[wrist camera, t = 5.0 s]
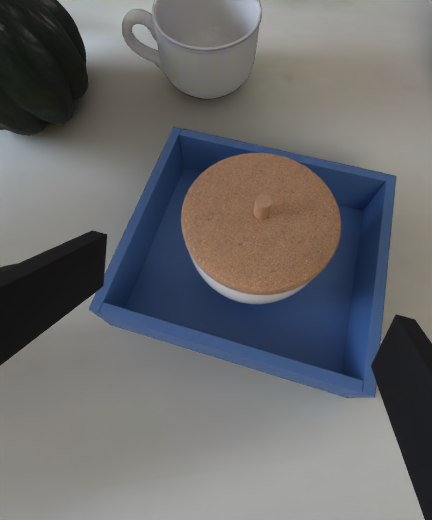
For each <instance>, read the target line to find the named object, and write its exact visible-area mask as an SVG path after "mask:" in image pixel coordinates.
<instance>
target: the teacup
mask: <svg viewBox="0 0 432 520" xmlns="http://www.w3.org/2000/svg"><path fill="white" fill-rule="evenodd" d="M261 18H262V8H261V4H260V1H259V0H155V1H154V4H153V6H152V14H151V13H149V12H147V11H145V10H143V9H133V10H131V11H129V12H128V13H127V14H126V15H125V17H124V19H123V22H122V33H123V37H124V39H125V42H126V43H127V45H128V46H129V47H130V48H131V49H132V50H133V51H134V52H135V53H137V54H138V55H140V56H141V57H143V58H145V59H147V60H149V61H152V62H154V63H155V64H156V65H157V66H158V67H159V68H161V69H164V71H165V73H166V75H167V77H168V78H169V80H170V81H171V83H172V84H173V85H174V86H175V87H177V88H178V89H179V90H180V91H182V92H184V93H186V94H188V95H191V96H194V97H198V98H203V99H213V98H218V97H221V96H225V95H227V94H230V93H232V92H233V91H235V90H236V89H238V88H239V87H240V86H241V85H242V84H243V83H244V82H245V80H246V79H247V78H248V76H249V74H250V72H251V69H252V66H253V62H254V58H255V53H256V46H257V39H258V31H259V25H260V22H261ZM135 24H142V25H145V26H146V27H147V28H148V29H149V30H150V32H151V34H152V36H153V38H154V39H155V40H156V41H157V43H158V49H159V51H158V50H155V49H152V48H150V47H148V46H146V45H144V44H143V43H141V42H140V41H139V40H138V39H137V38H136V37H135V36H134V34H133V33H132V27H133V25H135Z"/></svg>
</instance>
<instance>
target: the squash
mask: <svg viewBox="0 0 432 520" xmlns="http://www.w3.org/2000/svg"><path fill="white" fill-rule="evenodd" d="M87 88H88V75H87V69H86V52H85V47H84V43H83V40H82V38H81V36H80V33H79V31H78V28H77V26H76V24H75V22H74V20H73V19H72V17H71V16H70V14H69V13H68V12H67V11H66V10H65V8H64V7H63V6H62V5H61V4H60V3H59V2H58V1H57V0H0V130H4V129H6V130H9V131H11V132H14V133H17V134H21V135H28V136H30V135H35V134H37V133H39V132H40V131H41V130H42V129H43V127H44V126H45V123H46V121H47V122H49V123H53V124H56V125H61V124H64V123H66V122H68V121H69V120H70V118H71V115H72V111H73V101H75V100H77V99H79V98H81V97H82V96H83V95H84V94H85V92H86V90H87Z"/></svg>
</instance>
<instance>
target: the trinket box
mask: <svg viewBox="0 0 432 520" xmlns="http://www.w3.org/2000/svg"><path fill="white" fill-rule="evenodd" d="M181 226H182V233H183V237H184V240H185V244H186V247H187V249H188V251H189V253H190V257H191V259H192V261H193V263H194V265H195V267H196V269H197V271H198V272H199V274H200V275H201V276H202V278H203V279H204V280H205V281H206V282H207V283H208V284H209V285H210V286H211V287H212V288H213V289H214V290H216V291H217V292H218V293H220V294H221V295H223V296H225V297H227V298H229V299H231V300H234V301H237V302H240V303H246V304H267V303H273V302H276V301H279V300H283V299H285V298H287V297H289V296H291V295H293V294H295V293H296V292H298V291H299V290H301V289H302V288H303V287H305V286H306V285H307V284H308V283H309V282H310V281H311V280H312V279H313V278H315V277H316V276H317V275H318V274H319V273H320V272H321V271H322V270H323V269H324V268H325V267H326V265H327V264H328V263H329V261H330V260H331V258H332V257H333V255H334V253H335V251H336V249H337V246H338V244H339V239H340V235H341V217H340V211H339V208H338V205H337V202H336V200H335V198H334V196H333V194H332V192H331V191H330V189H329V188H328V187H327V185H326V184H325V183H324V181H323V180H322V179H321V178H320V177H318V176H317V175H316V174H315V173H314V172H313V171H311V170H310V169H309V168H307V167H306V166H304V165H302V164H300V163H298V162H296V161H294V160H292V159H289V158H287V157H283V156H279V155H275V154H268V153H247V154H240V155H236V156H232V157H229V158H226V159H224V160H221V161H219V162H217V163H216V164H214V165H212V166H210V167H209V168H208V169H207V170H205V171H204V172H203V173H202V174H201V175H200V176H199V177H198V178H197V179H196V180H195V181H194V182H193V184H192V185H191V187H190V188H189V190H188V192H187V194H186V196H185V199H184V202H183V206H182V212H181Z"/></svg>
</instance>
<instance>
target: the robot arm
mask: <svg viewBox="0 0 432 520" xmlns="http://www.w3.org/2000/svg"><path fill="white" fill-rule="evenodd" d="M106 245H107V234H103V233H100V232H96V231H93V230H92V231H90V232H88V233H85V234H83V235H81V236H79V237H77V238H74V239H72V240H70V241H68V242H65V243H63V244H61V245H59V246H56V247H54V248H52V249H50V250H47V251H45V252H43V253H41V254H39V255H36V256H34V257H32V258H30V259H27V260H25V261H23V262H21V263H18V264H13V265H8V266H4V267H0V365H1V364H3V363H4V362H5V361H7V360H8V359H9V358H11V357H12V356H13V355H14V354H16V353H17V352H18V351H20V350H21V349H22V348H24V347H25V346H26V345H27V344H29V343H30V342H31V341H33V340H34V339H35V338H37V337H38V336H39V335H40V334H42V333H43V332H44V331H46V330H47V329H48V328H50V327H51V326H52V325H53V324H55V323H56V322H57V321H59V320H60V319H61V318H63V317H64V316H65V315H66V314H68V313H69V312H70V311H72V310H73V309H74V308H76V307H77V306H78V305H79V304H81V303H82V302H83V301H85V300H86V299H87V298H89V297H90V296H91V295H92V294H94V293H95V292H96V291H98V290H99V289H100V288H102V287H103V285H104V272H105V258H106ZM371 368H372V371H373V374H374V377H375V380H376V382H377V385H378V388H379V391H380V394H381V397H382V399H383V402H384V405H385V408H386V411H387V414H388V416H389V419H390V422H391V425H392V428H393V431H394V433H395V436H396V439H397V442H398V445H399V447H400V450H401V453H402V456H403V459H404V462H405V464H406V467H407V470H408V473H409V476H410V479H411V481H412V484H413V487H414V490H415V493H416V496H417V498H418V501H419V504H420V507H421V510H422V512H423V515H424V518H425V520H432V343H431V342H430V340H429V339H428V338H427V336H426V335H425V333H424V332H423V330H422V329H421V327H420V326H419V325H418V323H417V322H416V320H415V319H411V318H407V317H404V316H400V315H395V317H394V319H393V321H392V323H391V326H390V328H389V330H388V332H387V334H386V336H385V338H384V340H383V342H382V344H381V346H380V348H379V350H378V352H377V354H376V356H375V358H374V360H373V362H372V364H371Z"/></svg>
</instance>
